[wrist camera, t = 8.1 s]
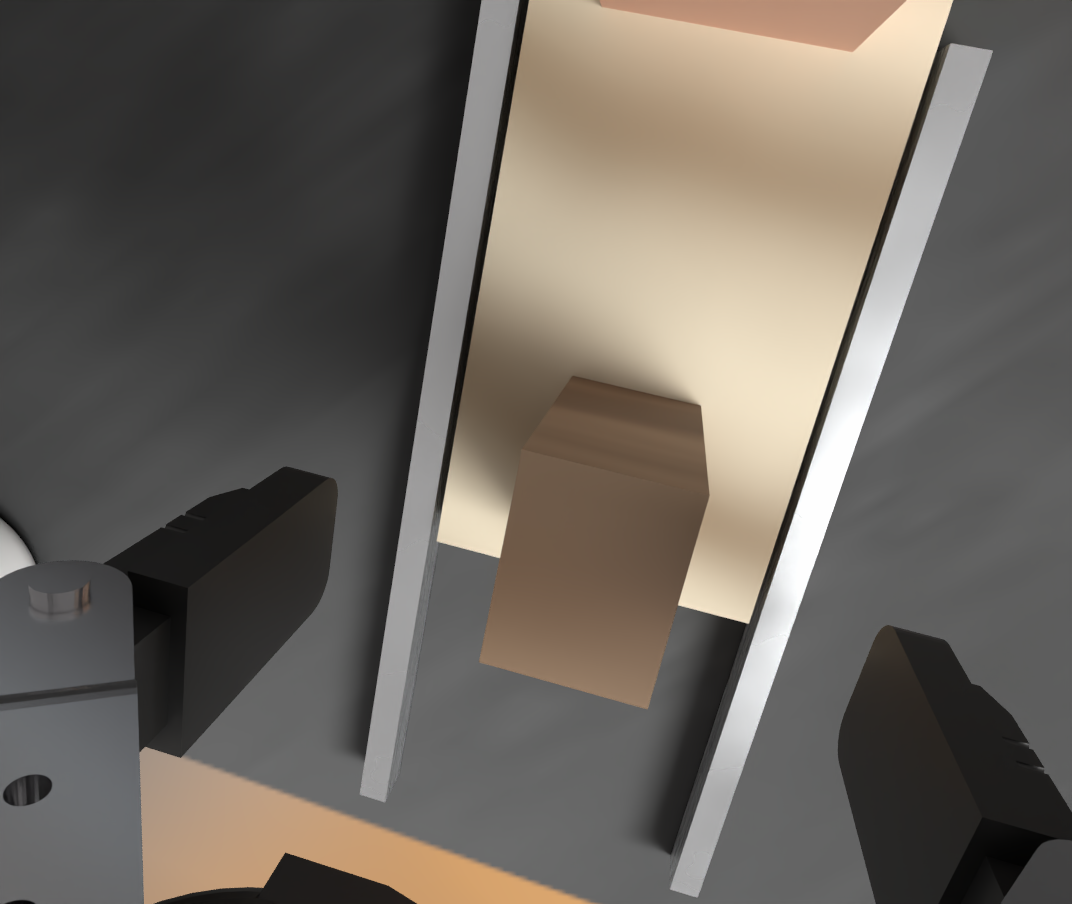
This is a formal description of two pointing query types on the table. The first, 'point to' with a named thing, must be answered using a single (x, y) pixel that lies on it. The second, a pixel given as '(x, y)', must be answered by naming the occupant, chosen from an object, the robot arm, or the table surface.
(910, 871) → the robot arm
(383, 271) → the table surface
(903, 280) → the guide rails
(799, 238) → the birch strip
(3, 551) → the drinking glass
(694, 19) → the terracotta block
